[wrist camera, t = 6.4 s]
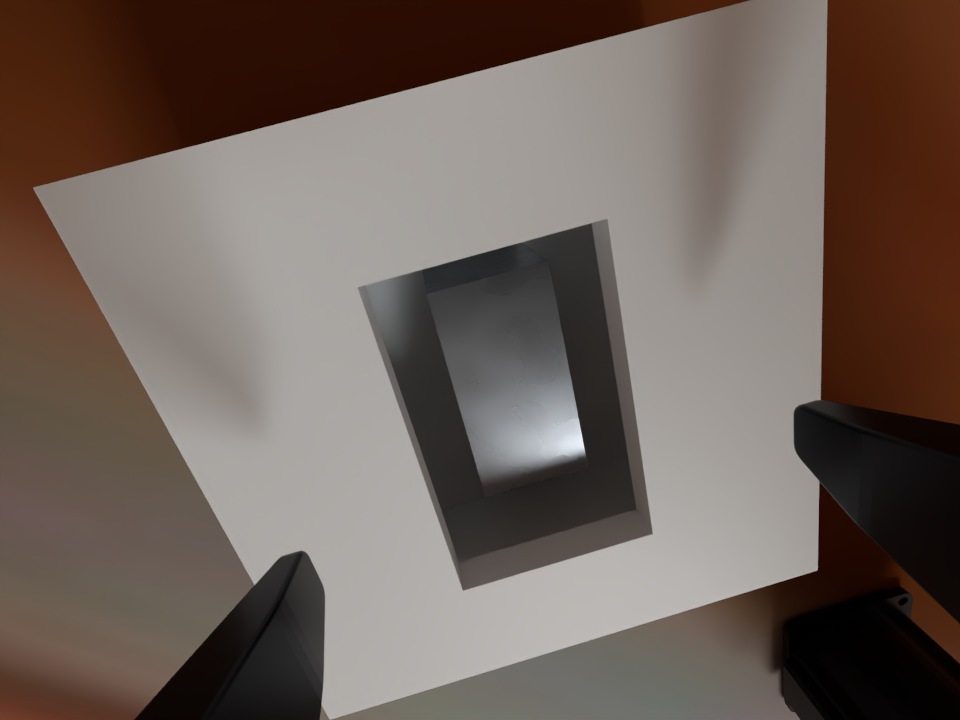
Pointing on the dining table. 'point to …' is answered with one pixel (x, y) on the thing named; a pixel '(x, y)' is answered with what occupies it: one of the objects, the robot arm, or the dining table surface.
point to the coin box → (420, 359)
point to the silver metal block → (508, 365)
